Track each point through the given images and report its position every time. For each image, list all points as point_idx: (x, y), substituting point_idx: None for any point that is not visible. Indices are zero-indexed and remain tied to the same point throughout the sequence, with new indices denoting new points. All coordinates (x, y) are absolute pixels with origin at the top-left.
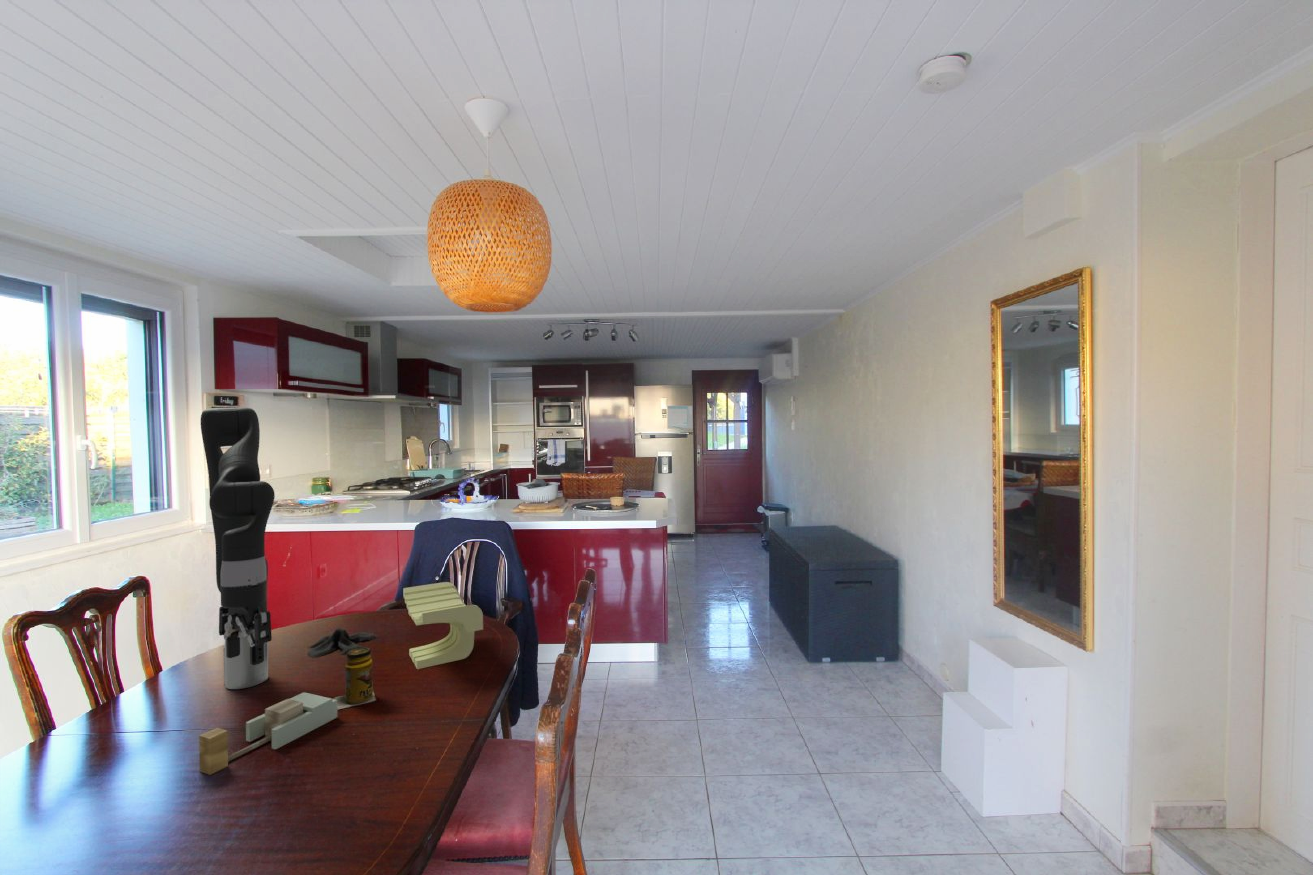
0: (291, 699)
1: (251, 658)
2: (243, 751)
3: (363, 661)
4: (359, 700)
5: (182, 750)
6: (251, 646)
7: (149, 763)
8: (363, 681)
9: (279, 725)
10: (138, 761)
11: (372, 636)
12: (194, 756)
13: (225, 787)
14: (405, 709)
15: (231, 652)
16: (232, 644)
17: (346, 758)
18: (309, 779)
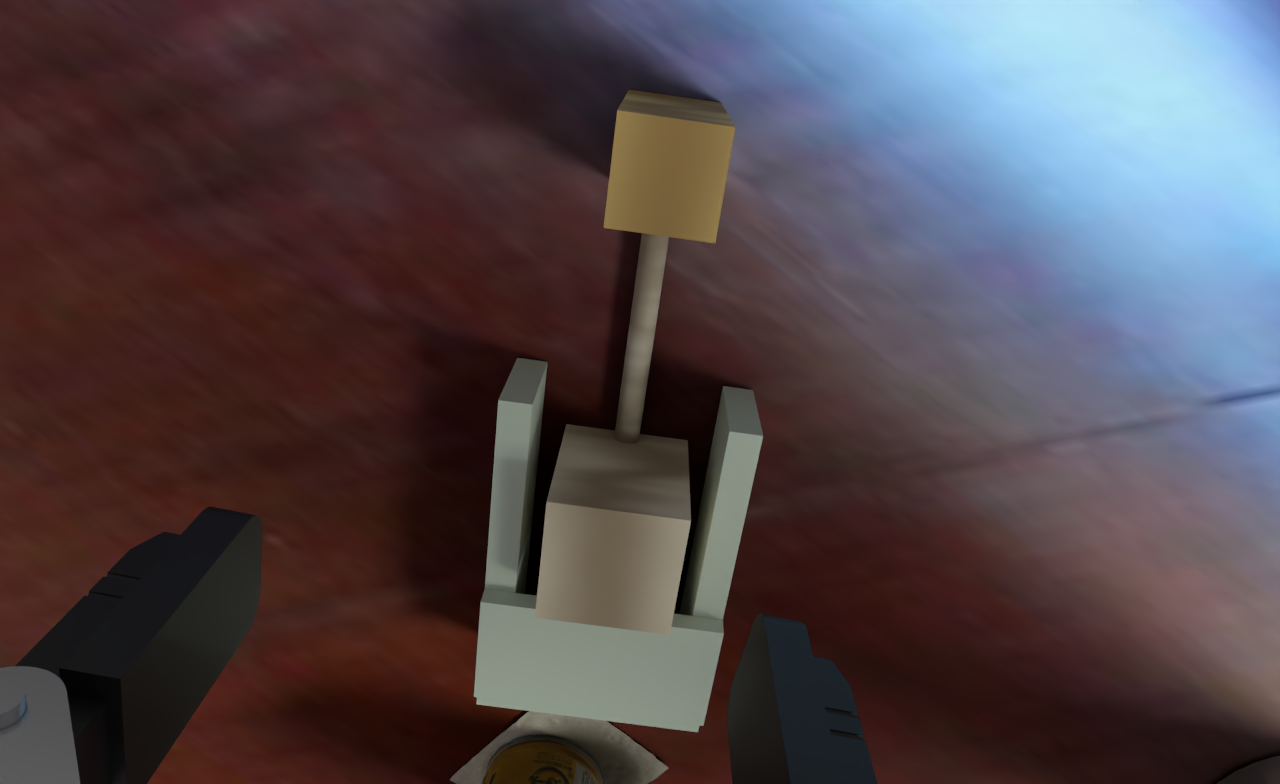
0: (697, 654)
1: (179, 553)
2: (636, 289)
3: None
4: (500, 758)
5: (1024, 243)
6: (37, 672)
7: (1098, 96)
8: None
9: (526, 444)
10: (1187, 97)
11: None
12: (896, 212)
13: (428, 16)
14: (246, 740)
15: (759, 680)
16: (768, 777)
17: (98, 368)
18: (84, 183)
